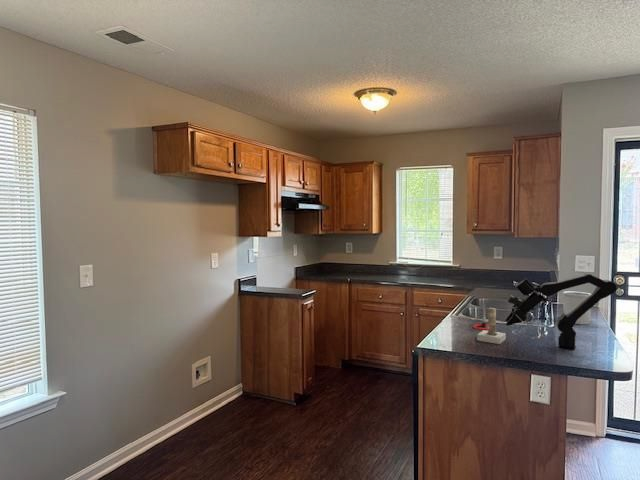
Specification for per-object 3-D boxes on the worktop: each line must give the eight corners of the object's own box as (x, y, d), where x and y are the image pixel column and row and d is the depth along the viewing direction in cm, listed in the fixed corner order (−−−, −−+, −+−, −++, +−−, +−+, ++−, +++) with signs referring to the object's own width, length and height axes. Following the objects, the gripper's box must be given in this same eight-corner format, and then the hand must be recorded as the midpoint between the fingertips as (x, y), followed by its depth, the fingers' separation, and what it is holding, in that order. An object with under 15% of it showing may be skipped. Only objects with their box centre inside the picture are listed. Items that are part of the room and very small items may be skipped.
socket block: (505, 339, 221) (505, 333, 221) (500, 344, 212) (500, 338, 212) (483, 335, 228) (483, 330, 228) (477, 340, 219) (477, 334, 219)
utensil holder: (564, 318, 270) (564, 290, 269) (592, 321, 261) (592, 292, 260) (560, 322, 258) (561, 293, 257) (590, 326, 249) (591, 296, 248)
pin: (496, 340, 219) (497, 309, 219) (492, 341, 218) (492, 309, 217) (491, 338, 223) (491, 307, 222) (486, 339, 221) (486, 308, 220)
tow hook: (485, 331, 238) (492, 327, 245) (485, 308, 237) (492, 305, 244) (470, 329, 244) (477, 325, 251) (470, 306, 243) (477, 303, 250)
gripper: (517, 287, 223) (494, 307, 228) (519, 293, 206) (494, 314, 210) (534, 303, 220) (510, 323, 225) (537, 310, 203) (511, 332, 208)
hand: (506, 322), depth 217 cm, fingers open, 9 cm apart
